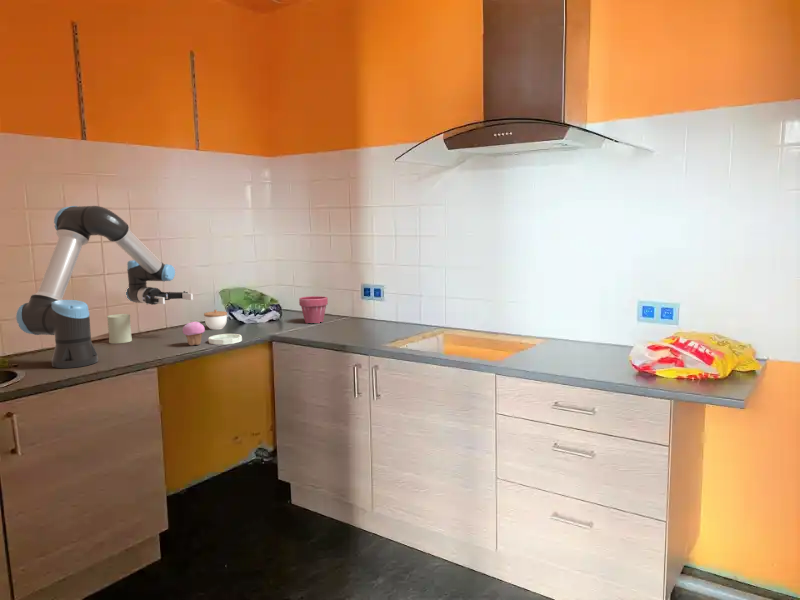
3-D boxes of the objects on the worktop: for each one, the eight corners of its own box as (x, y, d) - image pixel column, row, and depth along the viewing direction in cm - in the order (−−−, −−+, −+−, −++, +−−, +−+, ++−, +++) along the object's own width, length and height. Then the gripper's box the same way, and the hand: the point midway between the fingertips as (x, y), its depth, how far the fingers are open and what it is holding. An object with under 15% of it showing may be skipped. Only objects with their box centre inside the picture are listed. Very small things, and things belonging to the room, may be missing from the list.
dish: (222, 345, 251) (222, 341, 251) (202, 342, 259) (202, 337, 259) (248, 340, 262) (247, 335, 262) (228, 337, 270) (227, 332, 270)
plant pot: (318, 319, 316) (318, 295, 314) (333, 322, 305) (332, 297, 303) (295, 322, 307) (294, 297, 305) (309, 325, 296) (308, 300, 294)
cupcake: (204, 342, 260) (202, 319, 258) (206, 345, 252) (205, 322, 250) (182, 344, 256) (180, 321, 254) (184, 348, 248) (182, 324, 247)
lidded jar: (217, 331, 285) (216, 311, 284) (200, 329, 290) (198, 310, 289) (232, 327, 295) (231, 308, 294) (215, 326, 299) (214, 307, 298)
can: (123, 343, 258) (121, 316, 257) (104, 343, 260) (102, 316, 259) (136, 339, 267) (134, 313, 266) (118, 339, 269) (116, 312, 268)
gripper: (175, 300, 280) (203, 303, 268) (124, 307, 260) (152, 311, 248) (174, 284, 279) (202, 287, 267) (123, 290, 259) (150, 293, 247)
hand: (178, 298), depth 257 cm, fingers open, 13 cm apart
